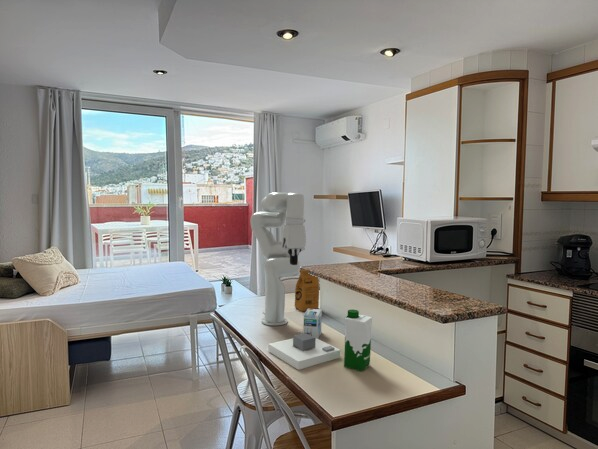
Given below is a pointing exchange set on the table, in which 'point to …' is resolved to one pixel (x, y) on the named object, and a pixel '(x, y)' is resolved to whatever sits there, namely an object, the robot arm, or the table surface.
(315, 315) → the light bulb box
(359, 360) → the milk carton
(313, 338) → the plug
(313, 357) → the socket
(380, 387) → the table surface
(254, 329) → the table surface
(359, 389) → the table surface
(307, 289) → the coffee package
